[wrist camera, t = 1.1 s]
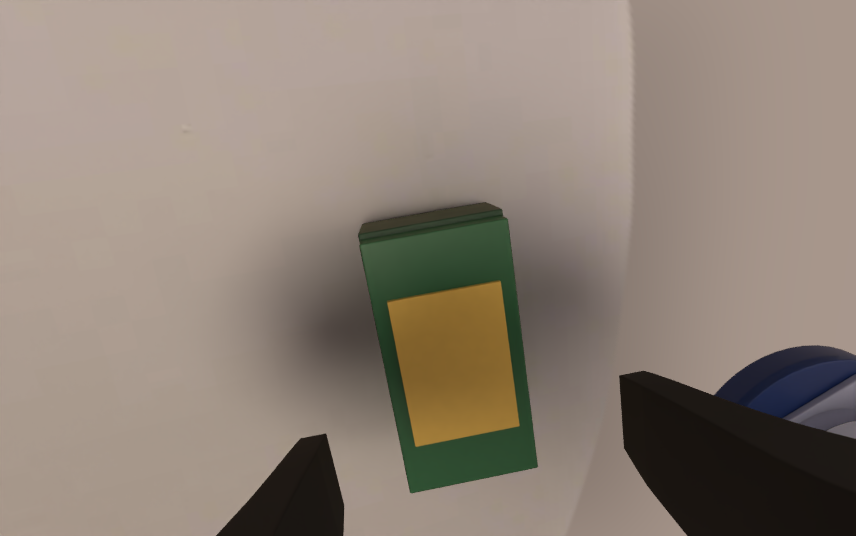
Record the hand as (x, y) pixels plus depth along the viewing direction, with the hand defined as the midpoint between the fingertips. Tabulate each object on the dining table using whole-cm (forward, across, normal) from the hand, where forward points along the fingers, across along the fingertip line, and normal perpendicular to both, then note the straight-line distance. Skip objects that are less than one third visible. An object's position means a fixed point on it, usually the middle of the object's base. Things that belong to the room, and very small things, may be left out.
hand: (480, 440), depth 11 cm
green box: (+8, 0, 0) cm, 8 cm away
